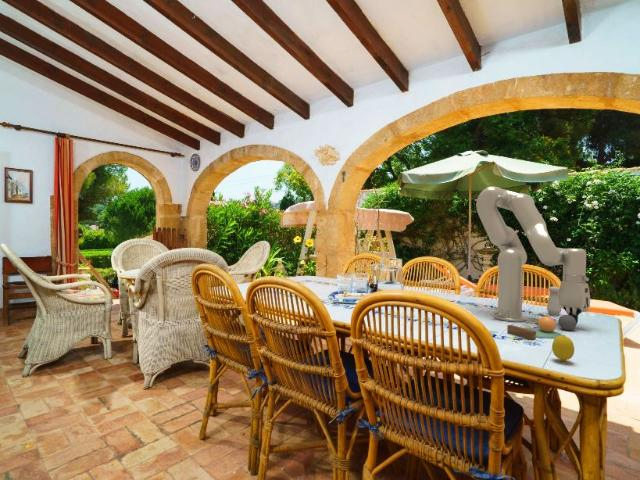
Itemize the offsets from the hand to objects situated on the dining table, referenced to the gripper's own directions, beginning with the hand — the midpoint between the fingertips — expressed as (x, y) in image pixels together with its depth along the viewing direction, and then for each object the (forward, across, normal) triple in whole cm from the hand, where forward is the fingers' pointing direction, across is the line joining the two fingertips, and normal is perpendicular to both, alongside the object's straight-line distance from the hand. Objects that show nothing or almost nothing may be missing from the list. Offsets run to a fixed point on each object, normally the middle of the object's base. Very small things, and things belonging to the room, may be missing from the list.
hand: (572, 324), depth 149 cm
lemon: (+2, -23, +44) cm, 50 cm away
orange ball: (-2, 0, +16) cm, 16 cm away
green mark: (+2, 0, +20) cm, 20 cm away
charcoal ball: (-2, -1, +6) cm, 6 cm away
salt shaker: (+2, +19, -18) cm, 26 cm away
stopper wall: (+2, 0, +31) cm, 31 cm away
